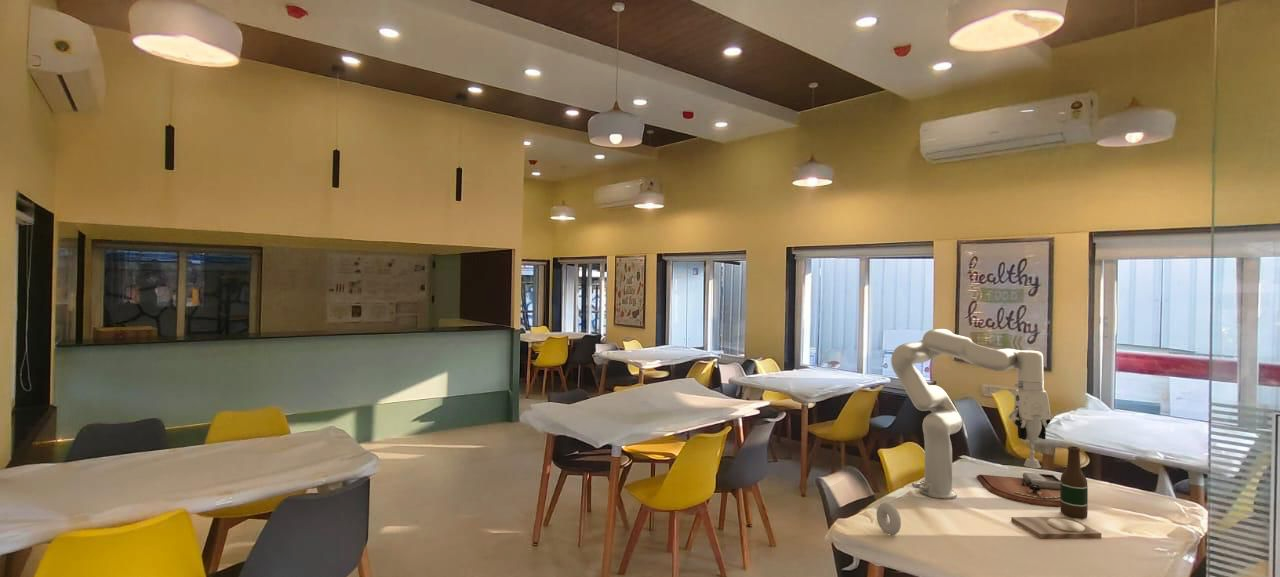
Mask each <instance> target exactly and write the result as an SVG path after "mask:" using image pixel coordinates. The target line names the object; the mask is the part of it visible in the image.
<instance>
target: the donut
mask: <svg viewBox="0 0 1280 577" xmlns="http://www.w3.org/2000/svg"><path fill="white" fill-rule="evenodd" d="M875 516H876V521H877V524H878V526H879V528H880V529H881V531H882V532H883V533H885V534H886V533H887V534H886V535H888V534H890V535H889V536H895V535H896V534H898V533H899V532H900V530H901V527H902V520H901V516H900V512H899V510H898V509H897V507H896V506H895V505H893V503H890V502H885V501H884V502H882V503H880V504H879V505H878V507H877V509H876V515H875ZM888 518H889V519H888Z"/></svg>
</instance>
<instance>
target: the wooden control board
mask: <svg viewBox="0 0 1280 577" xmlns="http://www.w3.org/2000/svg"><path fill="white" fill-rule="evenodd" d="M976 479H977V480H978V481H979V483H980V484H981V485H982V486H983V487H984V488H985V489H986V490H987V491H989V492H990V493H992V494H993V495H995V496H998V497H1000V498H1003V499H1006V500H1010V501H1013V502H1017V503H1021V504H1027V505H1032V506H1040V507H1050V508H1060V481H1061V479H1059V478H1058V477H1057V476H1056V475H1054V474H1046V473H1035V472H1023V473H1022V477H1013V476H1002V475H1001V476H999V475H990V474H988V475H987V474H978V475H976Z"/></svg>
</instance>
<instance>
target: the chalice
mask: <svg viewBox="0 0 1280 577" xmlns="http://www.w3.org/2000/svg"><path fill="white" fill-rule="evenodd" d="M1031 417H1032V418H1034V420H1031V421H1029V420H1026V424H1025V427H1024V428H1026V440H1028V441H1029V443H1030V444H1029V446H1028V447H1029V448H1030V450H1029V451H1028V452H1029V454H1030V456H1029V457H1028V458H1026V459H1025V461H1024V464H1023V466H1024V467H1027V468H1031V469H1040V468H1042V466H1041V465H1040V462H1039V460H1038V459H1036V458H1035V453H1036V451H1035V450H1034V449H1035V445H1034V442H1036V441H1037V440H1038V439H1039V438H1038V436H1039V434H1040V432H1041V429H1042V421H1041V420H1039V418H1041V416H1031Z"/></svg>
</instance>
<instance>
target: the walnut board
mask: <svg viewBox="0 0 1280 577" xmlns="http://www.w3.org/2000/svg"><path fill="white" fill-rule="evenodd" d="M1010 519H1011V520H1010V522H1011V523H1013V524H1014V525H1016V526H1019V527H1020V528H1021V527H1022V528H1021V529H1023V530H1024V531H1027V532H1029V533H1030V534H1032V535H1034V536H1035V537H1037V538H1039V539H1041V540H1042V539H1045V540H1046V539H1047V540H1048V539H1049V540H1050V539H1053V540H1054V539H1066V540H1067V539H1102V532H1099V531H1097V530H1096V529H1093V528H1091V527H1090V526H1088V525H1086V524H1084V523H1081V522H1079V521H1078V520H1077V519H1076V520H1075V518H1070V517H1067V516H1014V517H1013V516H1011V518H1010Z"/></svg>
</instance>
